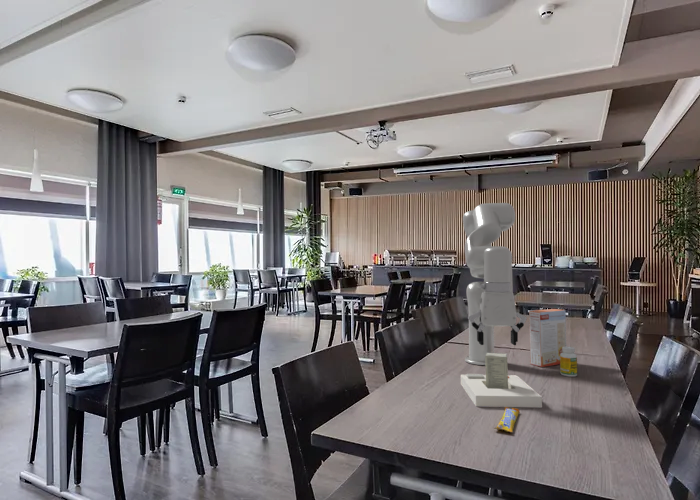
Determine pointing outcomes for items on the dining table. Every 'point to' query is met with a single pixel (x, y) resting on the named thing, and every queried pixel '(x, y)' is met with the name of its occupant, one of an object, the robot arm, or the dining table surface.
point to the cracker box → (547, 336)
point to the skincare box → (496, 371)
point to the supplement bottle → (568, 362)
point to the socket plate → (500, 392)
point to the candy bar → (508, 419)
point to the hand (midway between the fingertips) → (497, 344)
